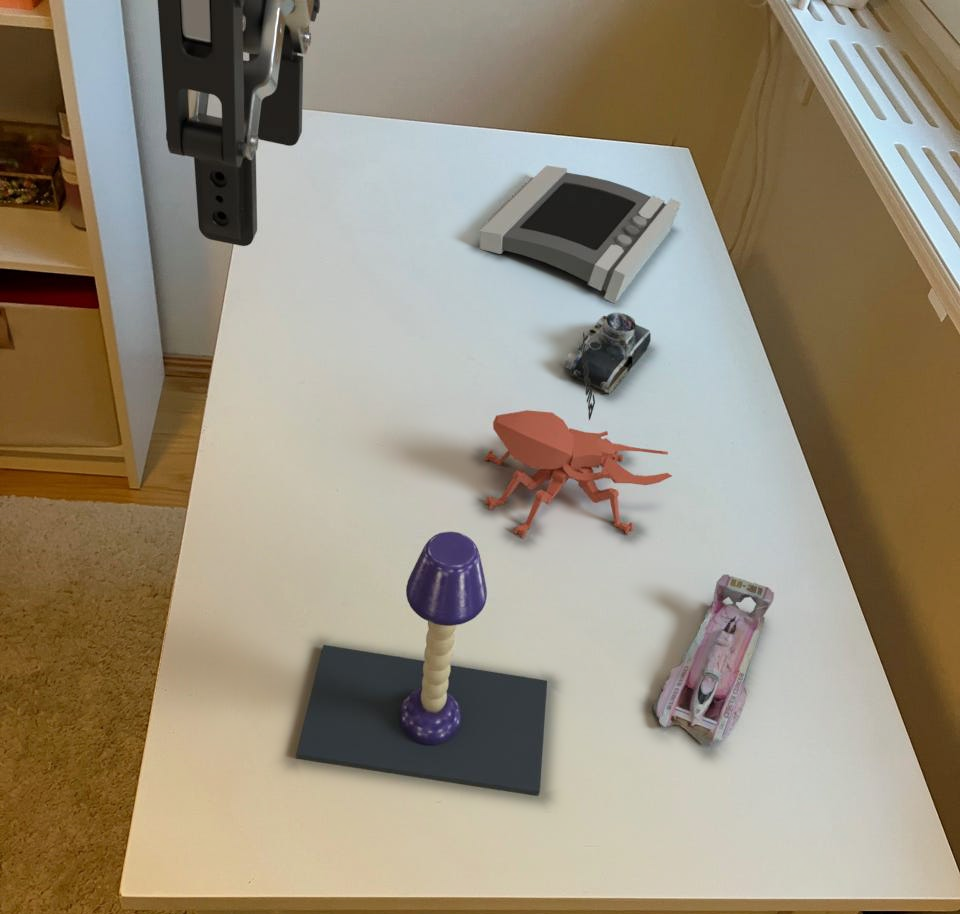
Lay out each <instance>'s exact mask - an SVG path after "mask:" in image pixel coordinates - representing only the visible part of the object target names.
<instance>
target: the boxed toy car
mask: <svg viewBox="0 0 960 914" xmlns="http://www.w3.org/2000/svg"><path fill="white" fill-rule="evenodd" d="M774 597H775V592H774V591H772V589H771V588H769V587H768V586H764V585H762V584H759V583H756V582H752V581H748V580H745V579H742V578H738V577H734V576H730V575H729V574H722V576H721V577H720V578H719V579H718V580H717V581H716V585H715V589H714V592H713V600H712V603H711V604H710V606H709V607H708V608H707V610H706V614H705V615H704V616H705V618H704V620H703V621H702V623H701V624H700V628H699V630H698V632H697V634H696V636H695V638H693V640H692V643H691V644H690V645H689V648H688V650H687V651H686V652H685V653H684V655H683V656H682V658H681V661H682V662H681V663H680V664H679V665H678V666H675V667H672V668H671V670H670V671H669V674H670V675H669V676H668V679H667V680H666V681H665V682H663V683H662V686H661V690H662V692H661V693H660V694H659V695H658V697H657V699H656V700H654V701H655V702H654V704H653V711H654V713H655V715H656V717H657V718H658V722H659V724H660V726H662V727H663V728H667V727H671V726H675V725H678V726H680V727H681V728H682V729H684V730H685V731H686V732H688V734H690V735H691V736H692V737H693V738H694V739H695V740H696V741H697V742H698V743H700V744H701V745H702V746H703V747H705V746H707V745H711V744H713V743H715V742H719V741H720V742H721V740H722V739H723V738H724V737H725V736H726V735H728V734H729V732H730V731H731V730H732V728H733V727H734V725H735V724H736V723H737V721H739V719H740V717H741V714H742V712H743V709H744V708H745V707H744V706H745V705H746V704H745V703H746V701H747V697H748V694H747V689H746V688H745V683H746V678H747V675H748V670H749V668H750V666H751V665H750V664H751V659H752V656H753V654H754V651H755V649H756V646H757V643H758V641H759V637H760V634H761V632H762V631H763V626H764V624H765V616H764V615H765V614H766V613H767V611H768V610H769V608H770V607H771V605H772V603H773V602H774V599H775V598H774ZM728 598H729V600H730V601H731V603H728V604H726V603H725V602H724V601H725V600H726V599H728ZM747 598H750V599H752V601H753V602H754V603H755V606H754V608H753V610H752V611H750V612H749V611H746V610H742V609H741V608H740V607H739V606H738V605H737V603H742V602H743V601H744V600H745V599H747Z"/></svg>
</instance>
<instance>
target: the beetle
mask: <svg viewBox="0 0 960 914" xmlns="http://www.w3.org/2000/svg"><path fill="white" fill-rule="evenodd" d="M585 337H586V334H585V331H583V332H582V342H583V343H582V347H581V351H582V349H583V351H582V355H581V358H582V357H583V360H582V364H583V362H584V364H583V368H584V373H583V374H584V375H585V376H584V381H585V382H584V381H583V382H584V385H585V396H586V397H587V398H586V403H587V410H588V421H590V420H591V419H592V414H593V412H594V409H595V404H596V400H595V393H593V391H592V386H591V385H590V378H589V377H588V375H589V369H588V366H587V364H588V361H587V353H586V349H585V345H586V343H584V341H585ZM583 345H584V347H583ZM584 349H585V351H584ZM585 354H586V356H585ZM584 358H585V360H584ZM586 361H587V362H586ZM585 364H586V365H585ZM586 368H587V372H586V374H585V371H586ZM585 379H586V380H585ZM587 379H588V380H587ZM586 382H587V383H586ZM588 382H589V384H588ZM591 400H592V402H591ZM492 428H493V430H494V432H495V433H496V435H497V437H498V438H499V439H500V441H501V442H502V443H503V445H504V446H505V448H506V449H507V451H506V452H505V453H504V454H503V455H502V457H501V458H500V457H497V455H496V454H494V450H493V449H490V450H489V451H488V452H487V454H486V456H485V457H484V458H483V460H484V462H487V461H490V462H492V463H495V464H497V466H501V465H503V463H504V461H505V460H507V459H508V458H509V457H510V456H512V458H513V459H514V460H516V461H518V462H520V463H522V464H523V465H524V466H526V467H530V468H532V469H536V470H537V469H538V470H537V471H536V473H534V474H533V476H532V475H529V474H527V472H525V471H524V470H523V469H521V470H520V469H517V470H515V471H514V472H513V477H512V478H511V480H510V482H509V483H508V484H507V487H506V488H505V491H504V492H503V493H502V495H501V496H500V497H499V498H498V499H497V498H496V497H494V498H492V496H491V495H490V496H489V495H488V497H487V498H486V500H485V502H484V503H485V504H486V505H488V510H490V511H492V509H494V507H497V506H503V505H506V501H507V499H508V498H509V497H510V495H511V494H512V493H513V491H514V490H515V489H516V488H517V487H518V485H519V484H520V483H521V484H523V485H524V486H525V487H526V488H527V489H528V490H530V491H531V490H534V489H536V488H537V487H539V486H540V485H542V484H544V483H546V482H549V481H550V482H549V484H548V486H547V489H546V490H543V489H542V488H541V489H538V490H537V491H536V493H535V495H534V500H533V503H532V505H531V508H530V511H529V514H528V516H527V518H526V521H524V523H523V524H521V526H520V525H516V526H515V528H514V531H513V533H514V534H515V535H517V534H518V535H520V538H521V539H525V536H526V534H527V533H528V532H527V531H528V530H530V529H531V527H532V523H533V521H534V519H535V517H536V515H537V513H538V511H539V508H540V507H541V506H542V503H545V504H546V505H550V504H551V503H552V501H553V499H554V498H555V497H556V496H557V494H558V493H559V492H560V491H561V490H562V488H563V485H564V484H566V482H567V481H568V480H569V479H572V480H574V481H576V482H578V487H579V488H580V489H582V490H583V491H584V493H585V494H586V495H587V496H588V498H589V499H590V500H591V501H592V502H593V503H595V504H598V503H600V502H604V501H606V500H609V503H610V507H611V513H612V517H613V526H614V527H615V528H618V529H619V530H621V531H623V532H624V535H626V536H628V535H630V532H632V531H633V530H634V524H633V522H629V523H628V524H627V523H626V522H621V520H620V511H619V497H618V496H619V495H620V493H619V491H618V490H617V489H616V488H613V487H609V488H605V489H601V490H600V489H598V486H597V485H596V483H595V481H598V480H601V479H610V480H611V481H612V482H613V483H614V484H633V485H640V486H648V485H654V484H659V483H661V482H663V481H665V480H667V479H669V478H672V477H673V475H672V474H670V473H668V472H665V473H659V474H652V475H637V474H634V473H632V472H630V471H628V470H627V469H625V468H624V467H622V465H620V464H619V463H618V461H619V462H623V461H624V456H623V454H619V453H618V452H642V453H650V454H658V455H659V454H660V455H669V451H665V450H657V449H650V448H649V449H648V448H642V447H641V448H640V447H633V446H628V445H625V444H621V443H614V442H613V443H612V442H611V440H609V439H608V438H607V437H605V436H608V435H609V432H608V431H607V430H606V431H603V432H599V433H598V432H586V431H584V430H583V431H582V430H578V429H575V428H571V427H570V428H569V427H568V425H567V424H566V423H565V420H564V419H562V418H561V417H560V416H558V415H556V414H555V413H553V411H551V412H549V411H539V410H529V409H528V410H521V411H514V412H509V413H504V414H497V415H495V417H494V419H493V422H492ZM602 437H605V438H602ZM600 467H601V468H602V469H601V471H599V472H594V470H593V468H594V469H595V468H596V469H599V468H600Z"/></svg>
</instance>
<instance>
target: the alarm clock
mask: <svg viewBox="0 0 960 914" xmlns="http://www.w3.org/2000/svg"><path fill="white" fill-rule="evenodd" d="M681 204H682V202H679V201H677V200H675V199H673V198H670V199H669V201H667V203H665V200H663V199H662V198H660V197H657V196H655V195H654V194H652V195H651V196H650V195H648V194H645V193H643V192H641V191H639V190H637V189H634V188H631V187H629V186H626V185H623V184H619V183H616V182H614V181H611V180H608V179H603V178H597V177H593V176H591V175H590V176H589V175H584V174H578V173H571V172H568V168H566V167H560V166H554V165H545V166H544V167H543V168H542V169H541V170H540V171H539V172H538V173H537V174H536V175H535V176H534V177H532V178H531V177H530V179H529V180H527V181H526V182H525V183H524V184H523V185H522V186H521V187H520V188H519V189H518V190H517V191H516V192H515V193H514V194H513V195H512V196H510V198H509V199H507V201H506V202H504V203H503V205H502V206H500V207H499V209H498V210H496V211H495V213H493V214H492V215H491V216H490V217H489V218H488V221H487V222H486V224H485V225H484V226H483V227H482V228H481V229H480V230H479V250H484V251H486V252H490V253H495V254H499V255H502V254H503V252H510V253H514V254H517V255H520V256H521V255H522V256H525V257H528V258H531V259H534V260H536V261H540V262H543V263H545V264H548V265H550V266H553V267H554V268H557V269H559V270H562V271H565V272H567V273H569V274H571V275H572V276H575V277H577V278H579V279H581V280H583V281H585V282H587V285H588V286H590V287H592V288H594V289H596V290H598V291H600V292H601V291H602V290H603V291H605V294H604V296H603V299H604V300H606V301H608V302H610V303H612V304H615V305H616V302H617V301H618V300H619V298H620V297H622V295H623V293H624V292H625V291H626V289H627V288H628V287H629V285H630V284H631V283H632V281H633V280H634V279H635V278H636V276H637V275H638V274H639V272H640V271H641V270H642V268H643V267H644V266H645V264H647V262H648V260H649V259H650V258H651V256H652V255H653V254H654V253H655V252H656V250H657V249H658V248H659V246H660V245H661V243H662V242H663V241H664V239H665V238H666V237H667V236H668V234H669V233H670V232H671V229H672V227H673V224H674V222H675V219H676V217H677V215H678V211H679V209H680V207H681ZM672 223H673V224H672ZM670 226H671V227H670ZM669 227H670V228H669Z"/></svg>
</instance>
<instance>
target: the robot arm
mask: <svg viewBox="0 0 960 914" xmlns="http://www.w3.org/2000/svg"><path fill="white" fill-rule="evenodd" d="M320 9H321V1H320V0H157V13H158V26H159V29H158V30H159V41H160V56H161V57H160V58H161V70H162V72H161V73H162V83H163V84H162V85H163V100H164V115H165V129H166V131H165V140H166V142H167V149H168V151H169V153H170V154H172V155H176V156H181V157H185V156H186V157H190V158H193V163H194V177H195V193H196V206H197V207H196V208H197V222H198V223H197V224H198V229H199V231H200V233H201V234H202V236H204V237H205V238H206V239H208V240H212V241H215V242H221V243H225V244H229V245H236V246H239V247H247V246H250V245H251V244H252V243H253V241H254V239H255V236H256V235H257V233H258V193H257V190H258V189H257V150H258V148H259V140H260V141H264V142H269V143H274V144H277V145H283V146H287V147H289V146H290V147H292V146H295V145H296V144H297V143H298V142H299V139H300V138H301V135H302V132H303V95H304V93H303V92H304V91H303V90H304V56H303V55H307V52H308V48H309V47H310V46H311V42H312V32H310V24H311V22H313V23H315V22H316V19H317V15H318V14H319V13H320ZM244 53H245V54H248V59H249V60H244ZM298 54H301V55H298ZM210 95H213V96H215V97H216V98H217V99H218V100H219V102H220V105H221V117H218V116H214V115H209V114H208V108H209V107H208V105H209V97H210Z"/></svg>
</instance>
